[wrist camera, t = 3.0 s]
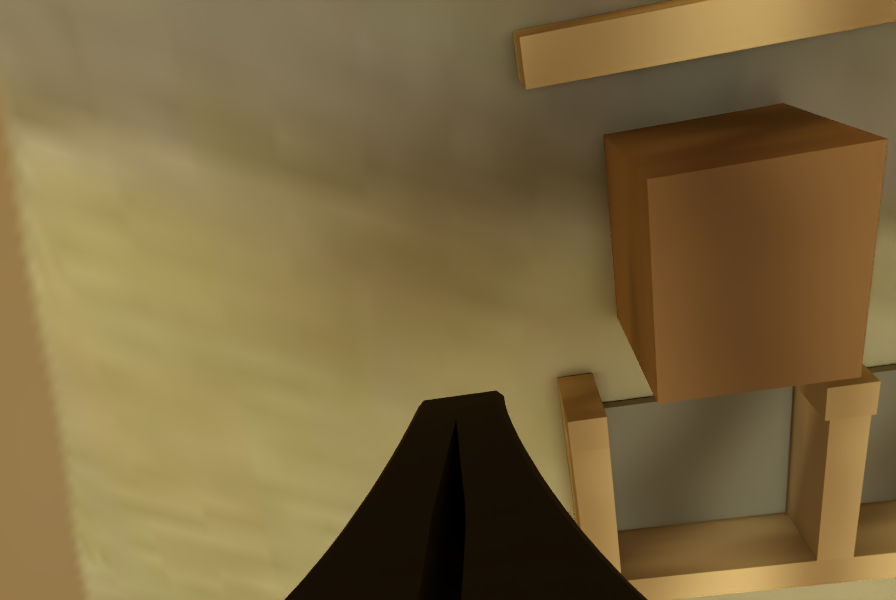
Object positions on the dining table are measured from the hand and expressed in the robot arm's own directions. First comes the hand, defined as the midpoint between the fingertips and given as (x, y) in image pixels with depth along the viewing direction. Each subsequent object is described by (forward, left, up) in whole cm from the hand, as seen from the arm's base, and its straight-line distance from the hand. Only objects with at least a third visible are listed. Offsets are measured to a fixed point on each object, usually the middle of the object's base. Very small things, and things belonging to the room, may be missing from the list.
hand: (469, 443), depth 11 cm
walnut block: (-7, +1, -10) cm, 12 cm away
